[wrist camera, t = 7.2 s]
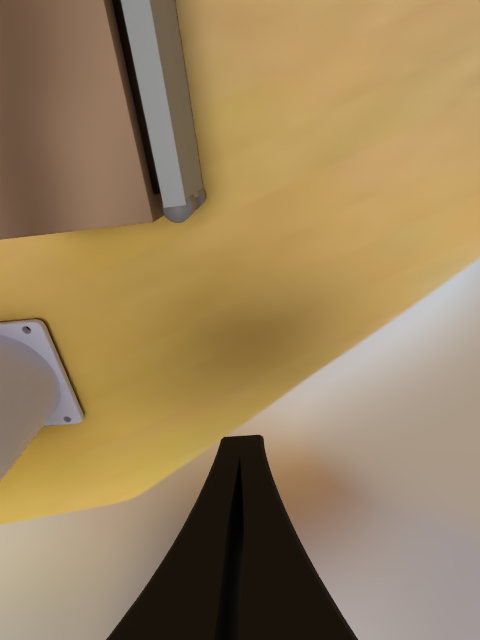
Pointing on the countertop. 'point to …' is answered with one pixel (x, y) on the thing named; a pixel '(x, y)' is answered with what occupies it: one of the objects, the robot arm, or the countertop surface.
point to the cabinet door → (166, 103)
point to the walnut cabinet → (71, 121)
